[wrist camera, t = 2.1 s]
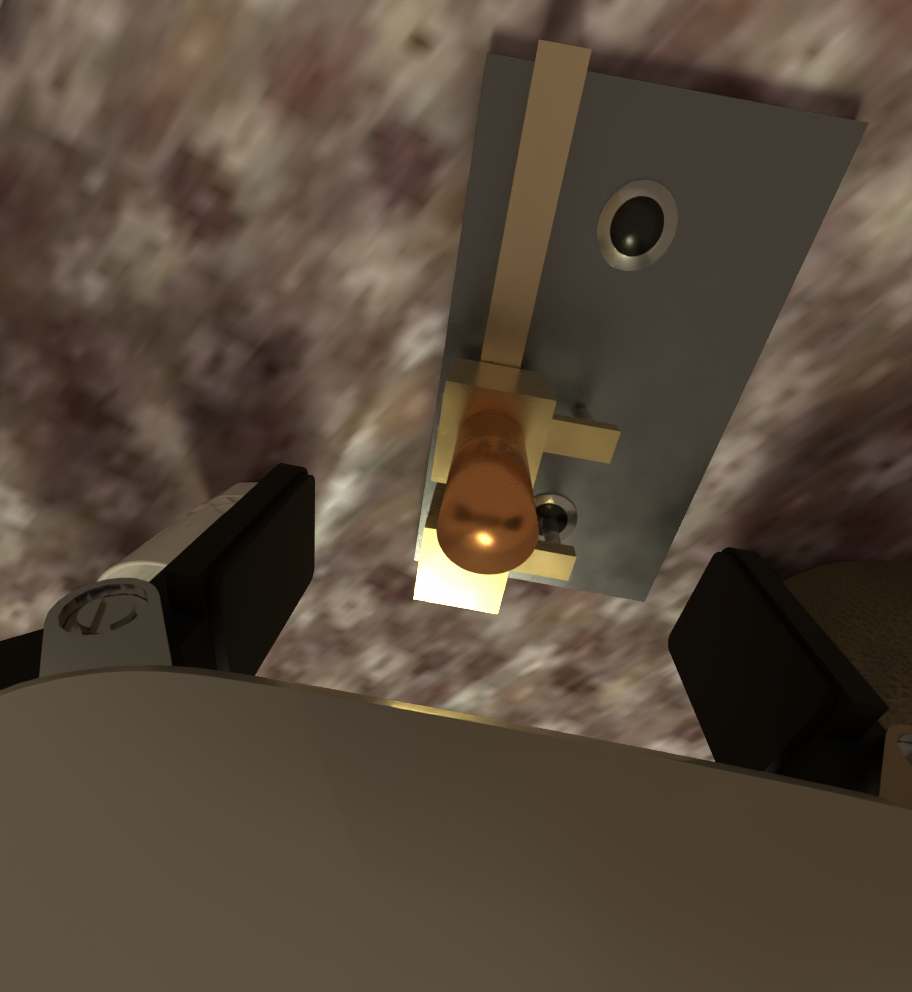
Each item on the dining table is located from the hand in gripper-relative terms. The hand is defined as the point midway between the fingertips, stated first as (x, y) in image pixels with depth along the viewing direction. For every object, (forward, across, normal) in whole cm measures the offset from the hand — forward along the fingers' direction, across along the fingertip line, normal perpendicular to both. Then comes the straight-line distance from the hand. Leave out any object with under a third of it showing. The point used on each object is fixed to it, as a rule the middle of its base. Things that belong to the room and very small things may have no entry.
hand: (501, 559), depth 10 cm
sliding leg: (+16, -1, +1) cm, 16 cm away
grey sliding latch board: (+17, -4, 0) cm, 18 cm away
